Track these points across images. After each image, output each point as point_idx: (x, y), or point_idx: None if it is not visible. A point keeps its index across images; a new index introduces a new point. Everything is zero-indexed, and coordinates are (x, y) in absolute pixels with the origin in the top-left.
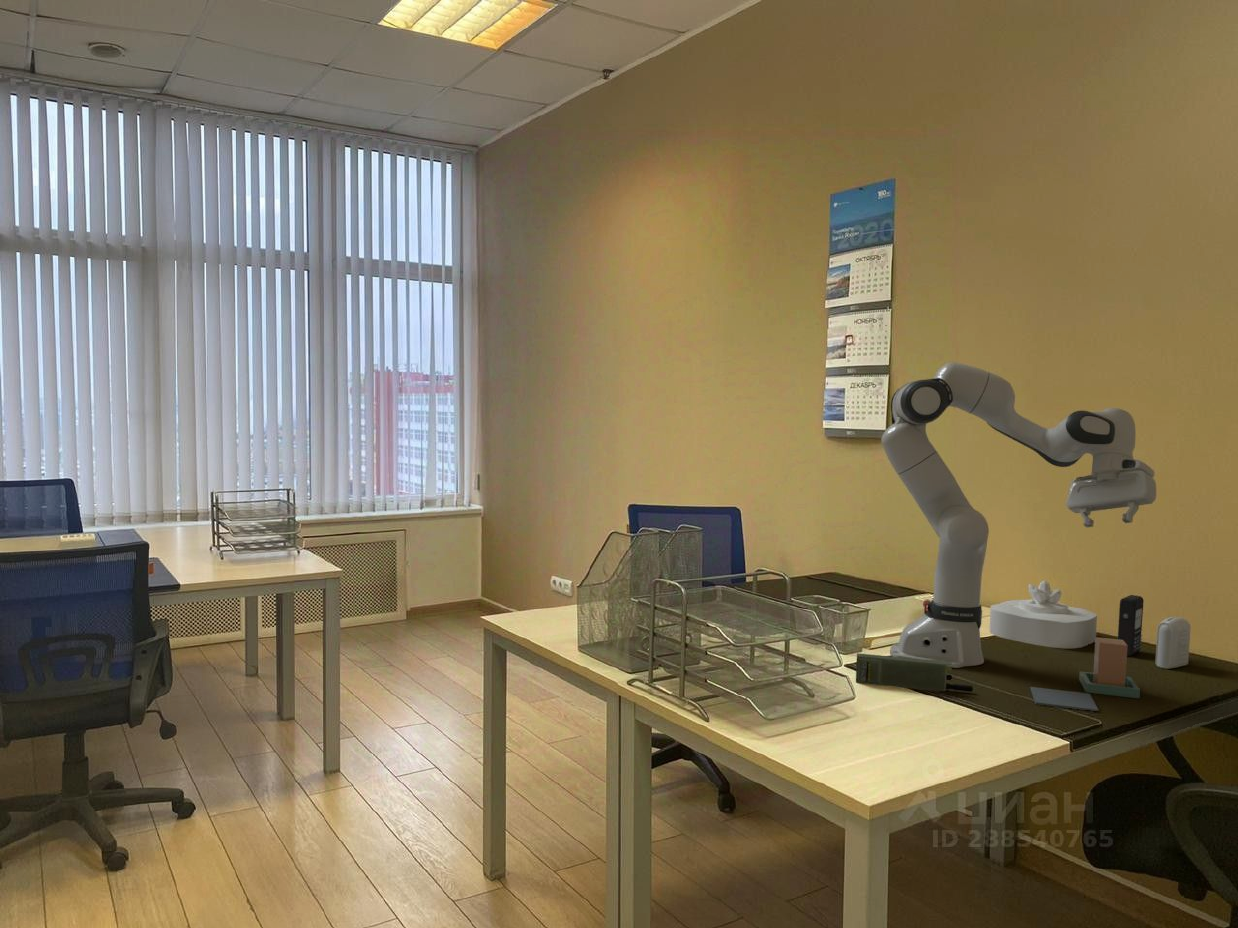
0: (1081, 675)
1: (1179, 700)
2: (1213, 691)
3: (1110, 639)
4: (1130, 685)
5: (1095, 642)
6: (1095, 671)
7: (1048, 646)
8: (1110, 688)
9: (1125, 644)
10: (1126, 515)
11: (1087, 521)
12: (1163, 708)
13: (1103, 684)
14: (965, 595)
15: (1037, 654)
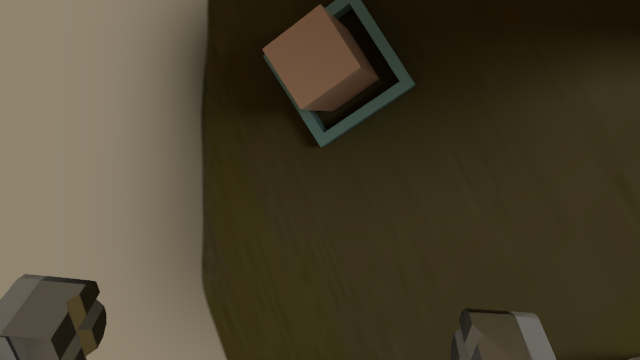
0: (397, 57)
1: (221, 122)
2: (213, 254)
3: (321, 79)
4: None
5: (360, 64)
6: (358, 50)
7: (636, 358)
8: None
9: (270, 55)
10: (18, 314)
11: (498, 333)
12: (214, 31)
13: None
14: None
15: (612, 242)
